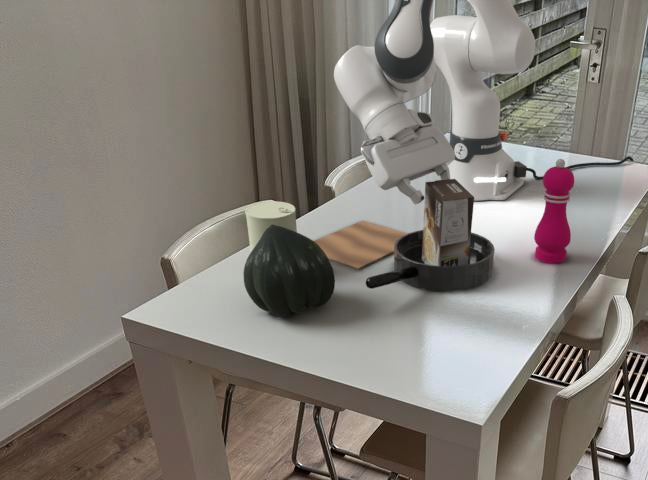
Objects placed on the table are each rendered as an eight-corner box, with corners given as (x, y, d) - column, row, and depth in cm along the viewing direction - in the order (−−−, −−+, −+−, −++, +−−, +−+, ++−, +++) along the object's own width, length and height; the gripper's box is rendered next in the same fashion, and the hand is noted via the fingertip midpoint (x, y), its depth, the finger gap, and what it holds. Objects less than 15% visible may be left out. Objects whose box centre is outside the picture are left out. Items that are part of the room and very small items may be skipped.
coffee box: (468, 277, 146) (476, 197, 137) (437, 281, 144) (443, 201, 134) (449, 255, 153) (455, 177, 143) (419, 259, 151) (423, 180, 141)
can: (290, 279, 143) (284, 217, 137) (243, 274, 145) (236, 212, 138) (307, 260, 151) (303, 201, 144) (263, 255, 152) (256, 196, 146)
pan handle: (412, 273, 142) (412, 253, 140) (421, 276, 141) (421, 255, 139) (363, 299, 132) (363, 277, 130) (372, 302, 131) (372, 280, 129)
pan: (432, 244, 160) (433, 221, 157) (511, 268, 151) (513, 244, 148) (374, 273, 147) (373, 249, 144) (456, 301, 138) (457, 276, 135)
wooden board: (362, 222, 169) (362, 220, 169) (420, 239, 162) (420, 237, 162) (298, 249, 155) (298, 247, 155) (358, 270, 148) (358, 268, 148)
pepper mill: (547, 248, 160) (557, 151, 149) (575, 258, 156) (588, 159, 145) (525, 256, 156) (533, 158, 145) (552, 267, 152) (564, 166, 141)
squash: (345, 295, 126) (325, 209, 127) (253, 311, 121) (233, 222, 123) (335, 318, 139) (317, 240, 141) (252, 333, 135) (234, 252, 137)
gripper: (365, 132, 132) (410, 200, 132) (436, 112, 146) (476, 173, 147) (347, 153, 136) (390, 219, 137) (417, 132, 151) (456, 191, 151)
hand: (435, 195), depth 142 cm, fingers open, 8 cm apart
